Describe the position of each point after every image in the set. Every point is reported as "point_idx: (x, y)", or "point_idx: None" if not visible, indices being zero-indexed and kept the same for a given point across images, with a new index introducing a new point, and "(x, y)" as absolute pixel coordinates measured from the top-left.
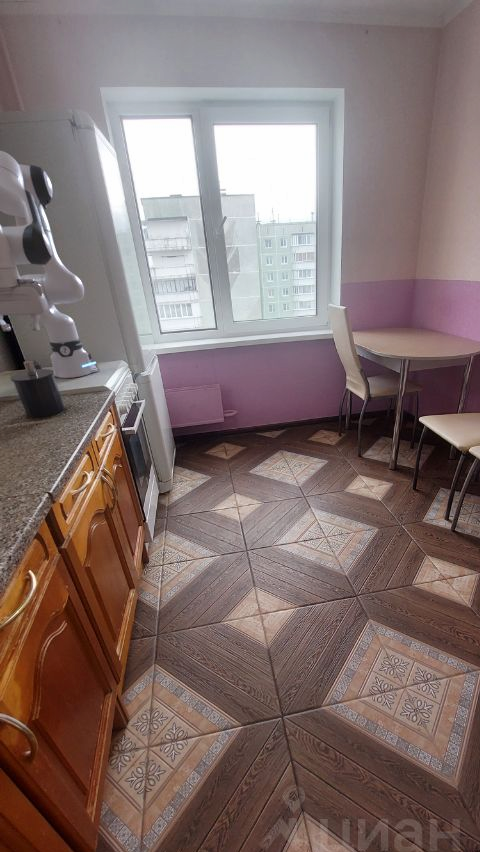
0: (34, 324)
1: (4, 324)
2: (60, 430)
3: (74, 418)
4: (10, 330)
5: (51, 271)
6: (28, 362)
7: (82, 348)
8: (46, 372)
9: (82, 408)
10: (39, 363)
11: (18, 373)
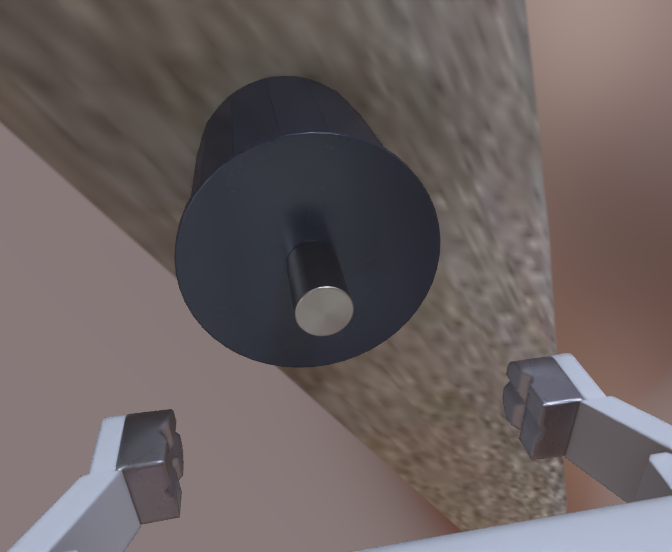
0: (582, 453)
1: (129, 502)
2: (455, 316)
3: (458, 210)
4: (174, 415)
5: None
6: (344, 327)
7: None
8: (386, 215)
9: (442, 85)
10: None
11: (180, 247)
